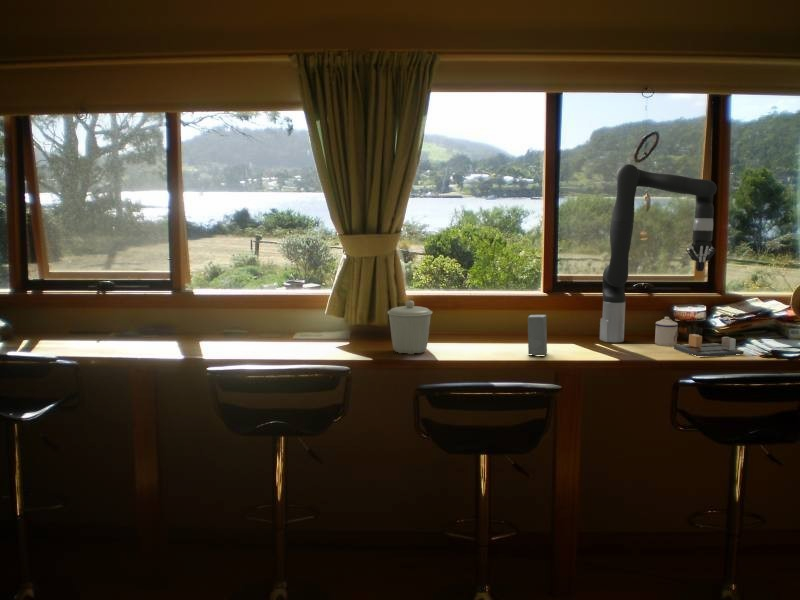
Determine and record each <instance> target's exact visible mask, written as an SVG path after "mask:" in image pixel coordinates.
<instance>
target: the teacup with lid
mask: <svg viewBox="0 0 800 600" xmlns="http://www.w3.org/2000/svg"><path fill="white" fill-rule="evenodd" d="M678 327H679V323H678V322H676V321H673V320H672V319H671V318H670V317H669V316H664V318H663V319H662V318H661V320H658V321H656V322H655V332H654V333H655V334H654V335H655V336H654V343H655V345H658V346H663V347H664V346H665V347H674V345H677V341H678V340H677V339H678Z"/></svg>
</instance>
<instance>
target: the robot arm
mask: <svg viewBox="0 0 800 600" xmlns="http://www.w3.org/2000/svg"><path fill="white" fill-rule="evenodd" d="M615 180H616V197H615V202H614V205H613V209H612V214H611V218H610V219H611V220H610V225H609V226H610V227H609V243H610V259H609V265H607V266H606V267H605V268H604V270H603V273H602V317H600V319H599V320H600V322H599V325H600V326H599V340H600V341H602V342H605V343H623V342H624V341H625V339H624V338H625V319H626V317H625V316H626V315H625V314H626V298H627V297H626V292H625V284H626V282H627V281H628V280H629V279H628V278H629V258H630V257H629V253H630V249H631V243H632V237H633V232H634V223H635V221H634V220H635V198H636V193H637V187H642V188H650V189H656V190H661V191H665V192H669V193H675V194H682V195H691V196H695V210H694V219H693V225H692V226H693V227H692V243H691V246H690V247H689V248H686V252H687V255H689V258H690V259H691V260H692V261H695V270H696V271H697V272H703V271H704V269H705V263H706V262H707V261H710V259H711V258H712V257H713V256H714V255H715V254H716V252H717V248H714V247H713V244H712V241H713V232H714V231H713V230H714V213H715V211H714V209H715V207H714V204H713V202H714V195H716V193H717V185H716V183H715V182H714V181H713V180H709V179H702V178H692V177H688V176H682V175H677V174H668V173H659V172H658V173H656V172H652V171H645V170H642V169H639V168H638V167H637V166H635V165H634V164H628V163H626V164H624V165H621V166H620V167H619V168H618V170H617V171H616V173H615Z"/></svg>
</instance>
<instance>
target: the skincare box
mask: <svg viewBox="0 0 800 600" xmlns="http://www.w3.org/2000/svg"><path fill="white" fill-rule="evenodd" d="M547 324H548V323H547V314H530V315H528V317H527V344H528V345H527V350H528V354H532V355H545V354H546V353H548V338H547V337H548V333H547ZM546 355H547V354H546ZM546 355H545V356H546Z"/></svg>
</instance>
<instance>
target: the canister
mask: <svg viewBox="0 0 800 600" xmlns="http://www.w3.org/2000/svg"><path fill="white" fill-rule="evenodd" d="M386 313H387V315H388V316H389V317H388V319H389V325H390V334H391V335H390V336H391V344H392V348H393V350H394V352H396V353H397V352H398V353H397V354H401V353H408V354H407V355H415V354H414V353H419V354H422V353H424V352H426V350H427V348H428V347H427V346H428V342H429V335H430V334H429V333H430V326H431V317H432V314H433V310H431V309H429V308H428V307H424V306H419V305H418V306H417V305H415V302H414V301H413V300H407V301H405V305H403V306H395V307H392V308H390V309H389V310H387V311H386Z"/></svg>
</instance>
